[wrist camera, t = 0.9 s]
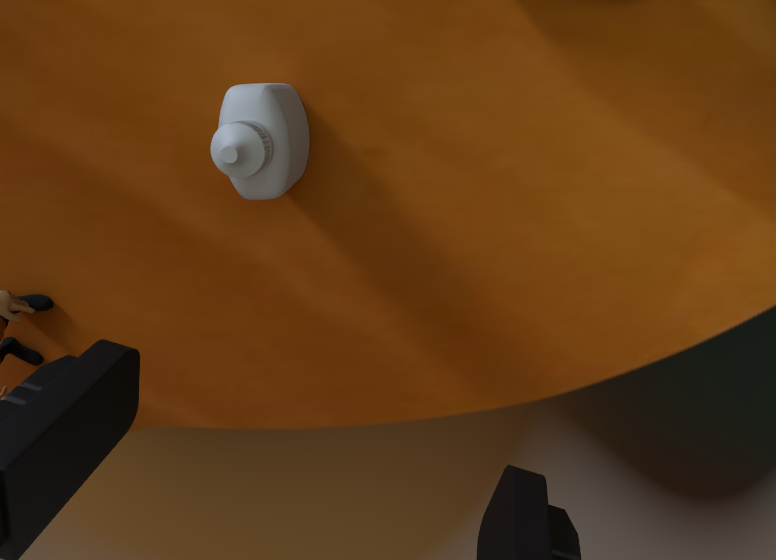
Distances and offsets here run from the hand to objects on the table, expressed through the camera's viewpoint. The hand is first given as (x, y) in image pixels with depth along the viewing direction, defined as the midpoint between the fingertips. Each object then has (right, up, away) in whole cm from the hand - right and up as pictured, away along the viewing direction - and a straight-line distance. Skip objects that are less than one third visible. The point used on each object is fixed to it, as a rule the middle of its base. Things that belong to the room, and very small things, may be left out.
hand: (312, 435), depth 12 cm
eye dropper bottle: (-5, +12, +23) cm, 27 cm away
